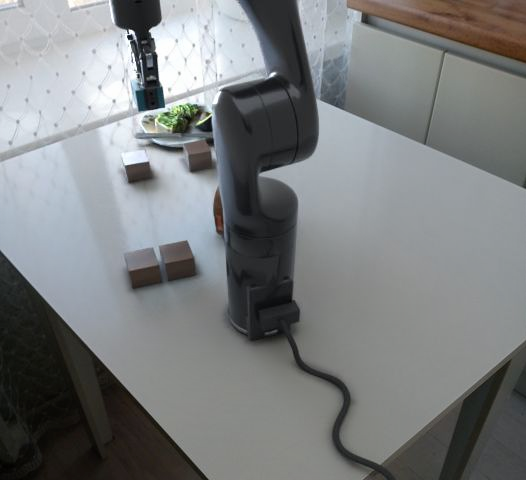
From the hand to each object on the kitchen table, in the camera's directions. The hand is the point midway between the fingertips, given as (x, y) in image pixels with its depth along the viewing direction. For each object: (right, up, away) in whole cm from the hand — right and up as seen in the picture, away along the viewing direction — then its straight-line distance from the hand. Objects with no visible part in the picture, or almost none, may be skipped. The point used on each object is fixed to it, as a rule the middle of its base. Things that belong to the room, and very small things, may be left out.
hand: (149, 101), depth 94 cm
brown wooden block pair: (+3, -30, -7) cm, 31 cm away
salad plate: (+3, +4, +24) cm, 24 cm away
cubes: (+1, -7, +13) cm, 15 cm away
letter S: (0, 0, 0) cm, 0 cm away
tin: (+14, -20, +3) cm, 24 cm away
